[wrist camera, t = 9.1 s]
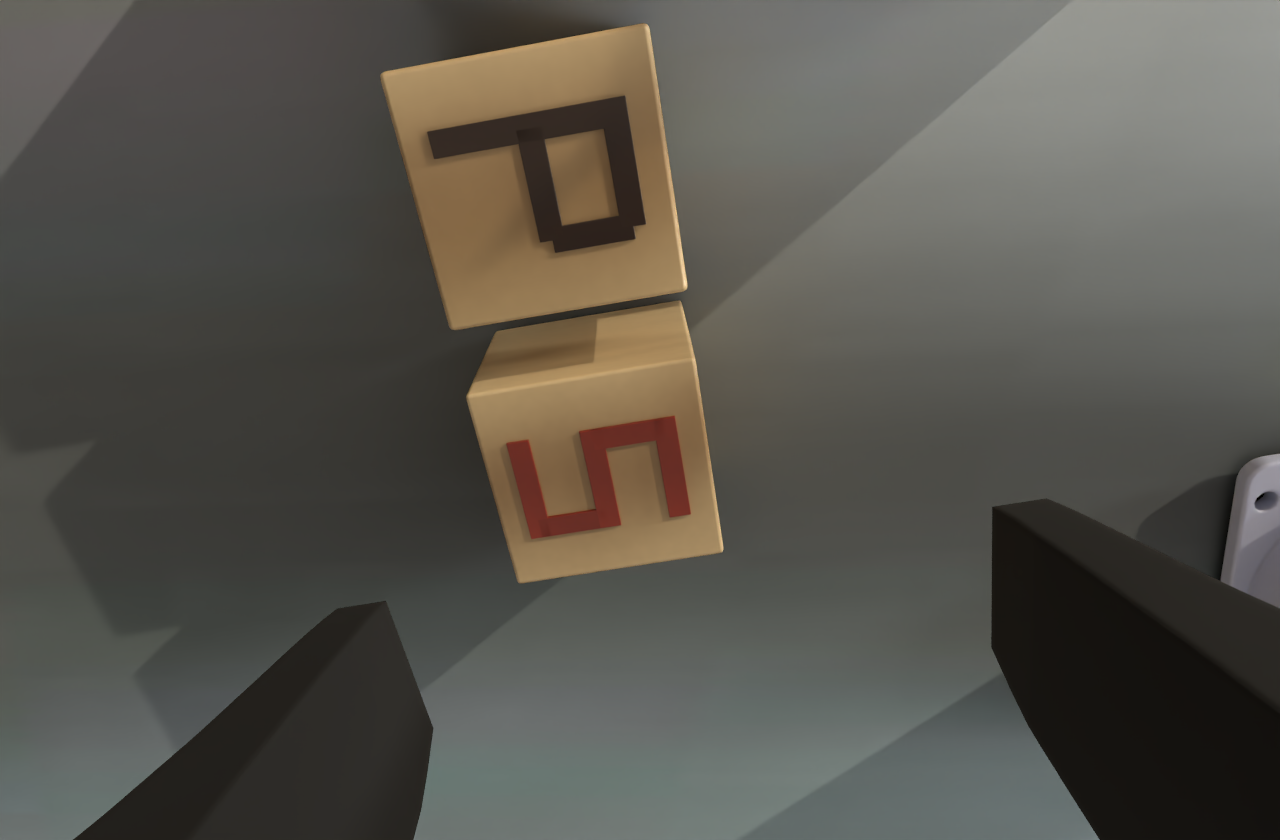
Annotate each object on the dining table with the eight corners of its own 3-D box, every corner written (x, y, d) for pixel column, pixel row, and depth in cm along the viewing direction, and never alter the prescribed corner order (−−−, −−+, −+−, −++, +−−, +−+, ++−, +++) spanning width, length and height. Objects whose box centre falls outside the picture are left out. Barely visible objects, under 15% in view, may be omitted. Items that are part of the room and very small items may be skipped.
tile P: (675, 244, 16) (688, 293, 13) (483, 277, 17) (448, 333, 13) (643, 30, 15) (649, 22, 11) (430, 69, 15) (375, 72, 12)
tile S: (706, 466, 18) (724, 555, 15) (535, 492, 19) (517, 587, 15) (681, 299, 17) (695, 358, 14) (494, 330, 17) (463, 396, 14)
